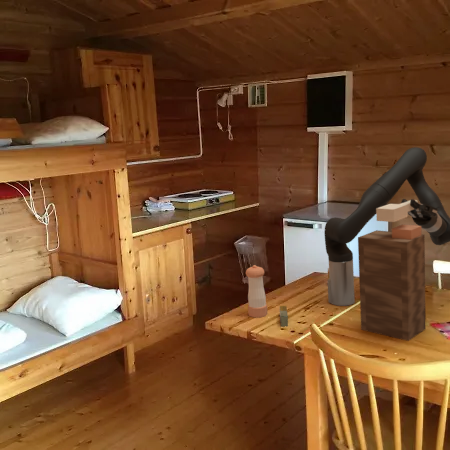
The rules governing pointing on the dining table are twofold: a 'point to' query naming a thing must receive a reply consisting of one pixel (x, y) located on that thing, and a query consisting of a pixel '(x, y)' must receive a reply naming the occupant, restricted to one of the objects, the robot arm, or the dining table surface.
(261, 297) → the pepper shaker
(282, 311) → the medication box
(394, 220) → the beige long block
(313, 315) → the dining table surface
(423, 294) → the walnut stand
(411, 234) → the terracotta block
